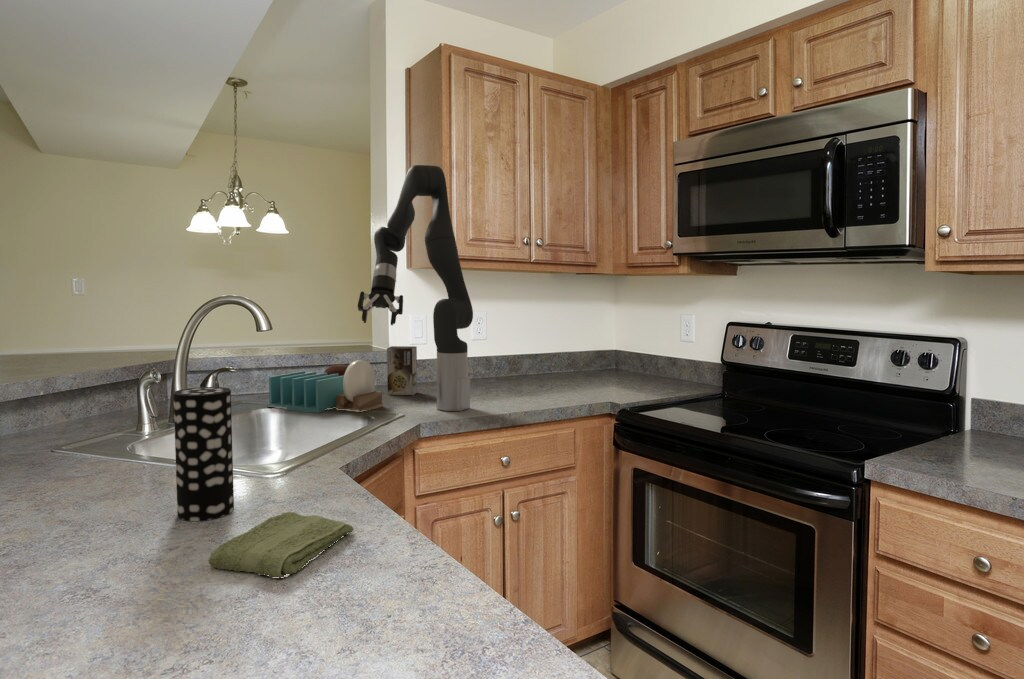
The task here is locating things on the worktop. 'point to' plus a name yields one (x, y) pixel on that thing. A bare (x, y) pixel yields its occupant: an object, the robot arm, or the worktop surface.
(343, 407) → the plate stand
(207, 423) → the spotted tube
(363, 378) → the plate
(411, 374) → the coffee box
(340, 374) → the muffin
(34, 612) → the worktop surface
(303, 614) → the worktop surface
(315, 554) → the washcloth
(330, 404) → the rack
